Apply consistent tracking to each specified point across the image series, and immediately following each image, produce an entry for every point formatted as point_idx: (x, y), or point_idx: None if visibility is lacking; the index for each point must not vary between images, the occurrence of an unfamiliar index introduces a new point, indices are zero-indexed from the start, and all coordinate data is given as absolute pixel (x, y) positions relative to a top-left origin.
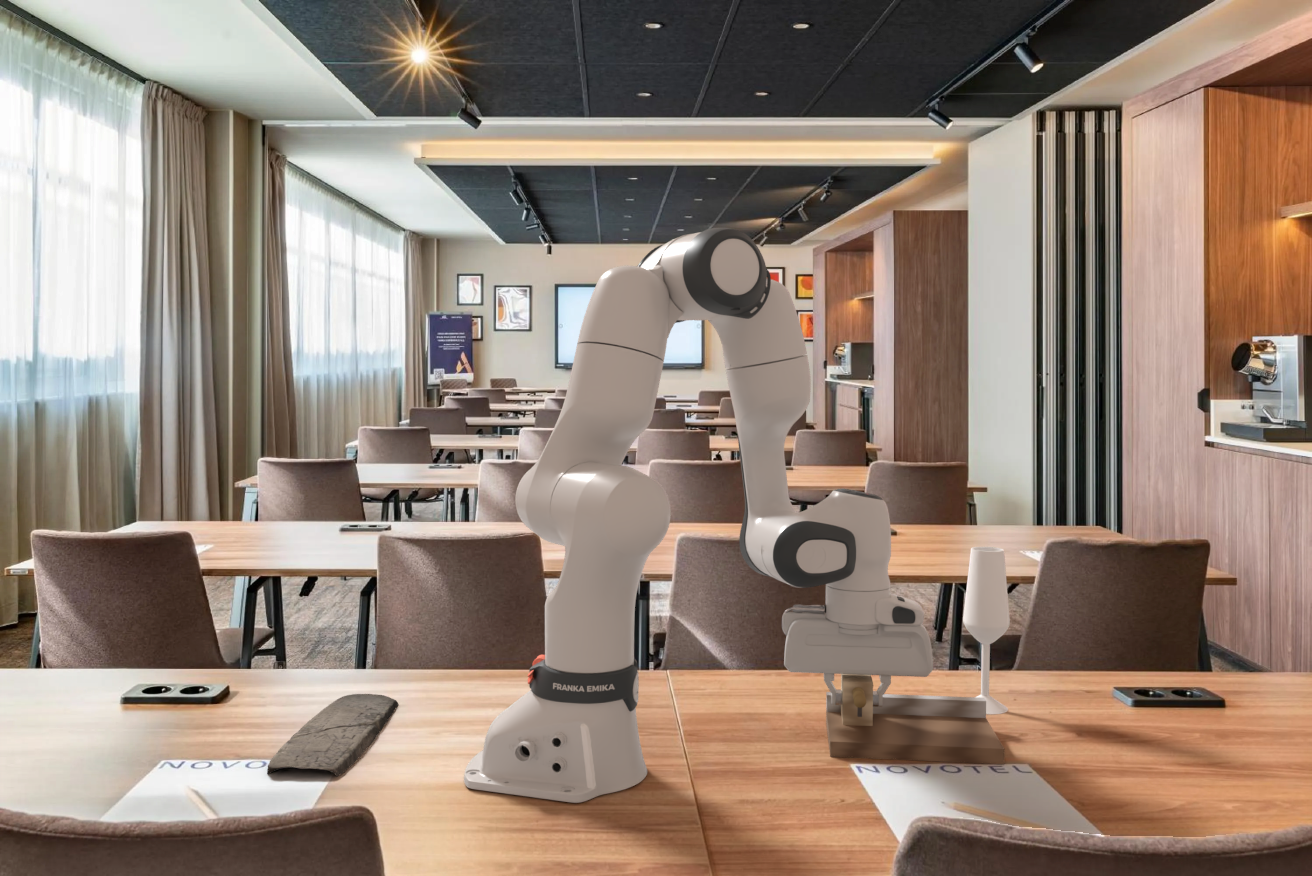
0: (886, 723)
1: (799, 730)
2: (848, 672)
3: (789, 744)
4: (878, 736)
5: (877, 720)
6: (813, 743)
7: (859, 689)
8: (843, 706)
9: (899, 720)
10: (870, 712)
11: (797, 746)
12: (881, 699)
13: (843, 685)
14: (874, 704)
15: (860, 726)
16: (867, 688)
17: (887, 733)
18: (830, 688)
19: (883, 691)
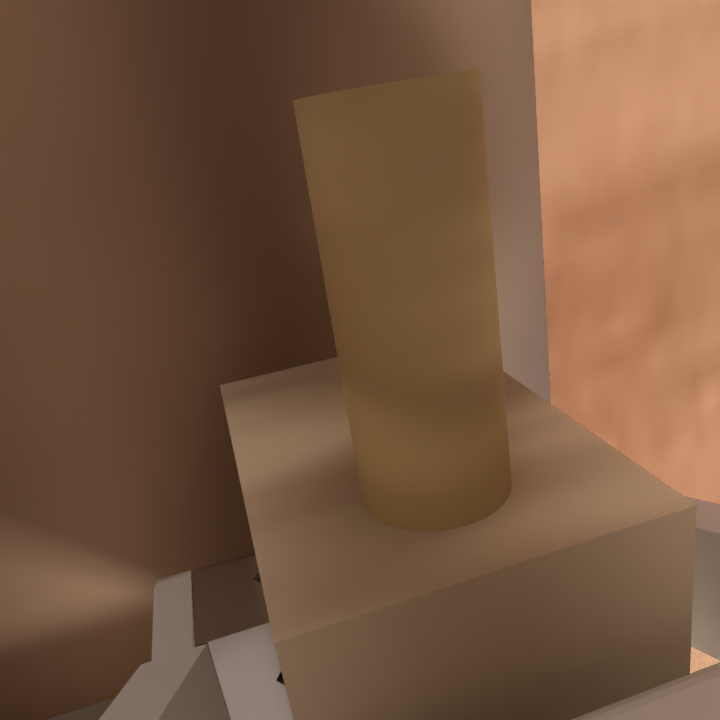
0: (118, 489)
1: (650, 374)
2: (715, 684)
3: (710, 103)
4: (122, 122)
5: (202, 529)
6: (577, 168)
7: (444, 432)
8: (512, 378)
9: (27, 599)
10: (251, 425)
11: (668, 77)
12: (162, 617)
13: (655, 479)
14: (233, 561)
15: (313, 340)
16: (337, 555)
17: (56, 237)
18: (717, 514)
19: (137, 694)
